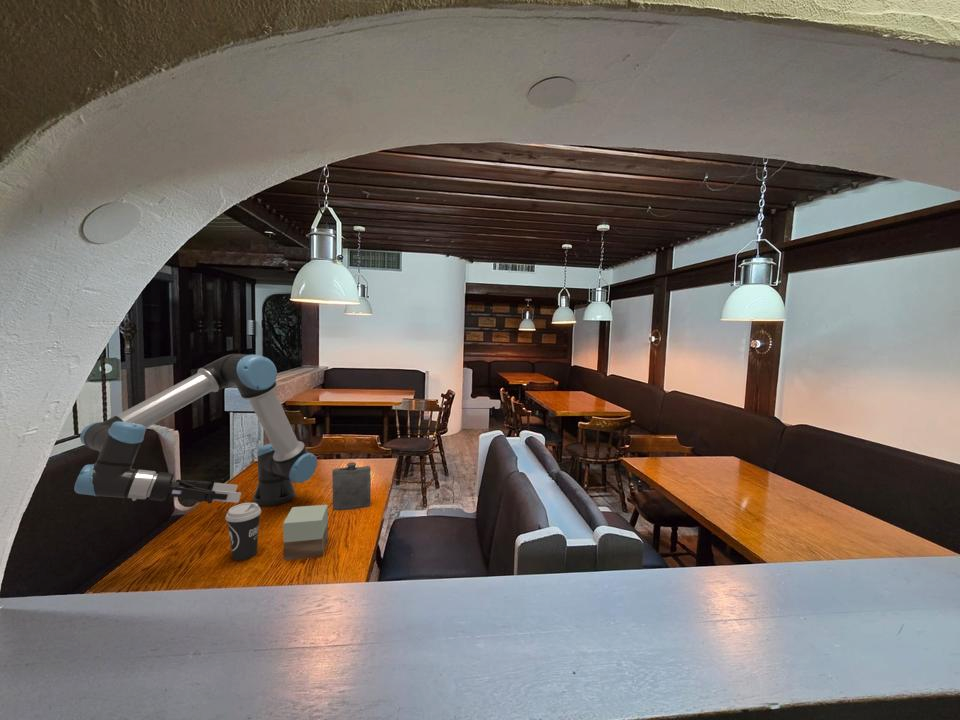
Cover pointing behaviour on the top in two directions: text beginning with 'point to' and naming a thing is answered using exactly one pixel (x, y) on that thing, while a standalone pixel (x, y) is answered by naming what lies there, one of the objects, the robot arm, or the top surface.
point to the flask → (351, 487)
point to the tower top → (305, 523)
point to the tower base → (305, 548)
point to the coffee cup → (243, 530)
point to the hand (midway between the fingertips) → (238, 493)
